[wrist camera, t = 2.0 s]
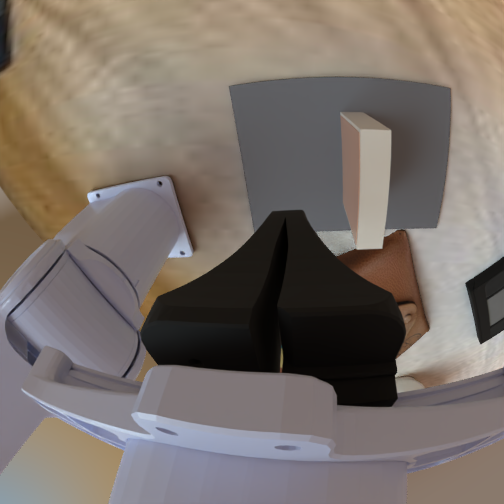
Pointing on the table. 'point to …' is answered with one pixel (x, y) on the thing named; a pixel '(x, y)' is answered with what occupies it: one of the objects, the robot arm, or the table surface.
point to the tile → (365, 177)
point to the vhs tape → (488, 301)
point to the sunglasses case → (393, 280)
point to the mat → (340, 146)
